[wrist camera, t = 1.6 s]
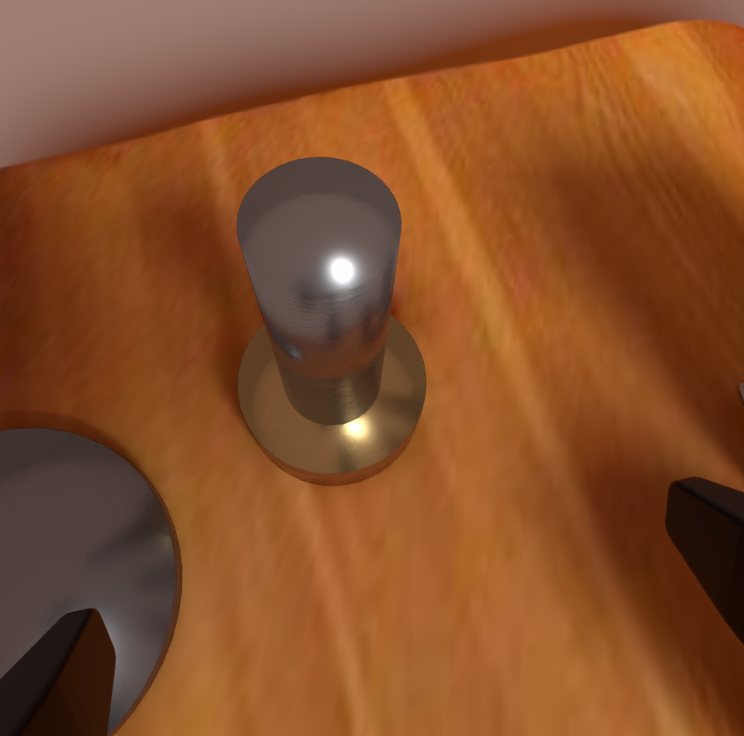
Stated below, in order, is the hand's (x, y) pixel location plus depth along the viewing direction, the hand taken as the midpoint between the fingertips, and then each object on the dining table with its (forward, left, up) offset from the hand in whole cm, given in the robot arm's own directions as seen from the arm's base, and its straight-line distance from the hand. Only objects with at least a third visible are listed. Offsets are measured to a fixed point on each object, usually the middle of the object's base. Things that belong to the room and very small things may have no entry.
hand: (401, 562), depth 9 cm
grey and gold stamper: (+4, -6, -13) cm, 15 cm away
